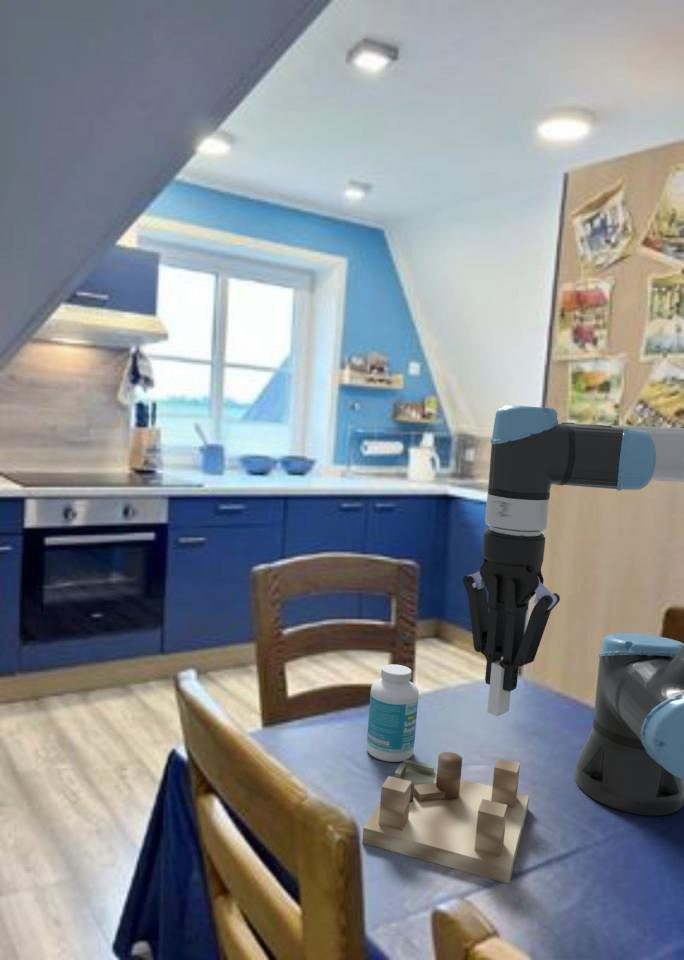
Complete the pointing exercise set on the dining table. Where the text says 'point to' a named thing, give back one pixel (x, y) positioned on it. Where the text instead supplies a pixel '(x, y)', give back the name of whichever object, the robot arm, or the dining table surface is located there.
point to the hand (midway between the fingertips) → (498, 711)
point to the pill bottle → (392, 715)
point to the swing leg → (443, 779)
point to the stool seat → (452, 821)
